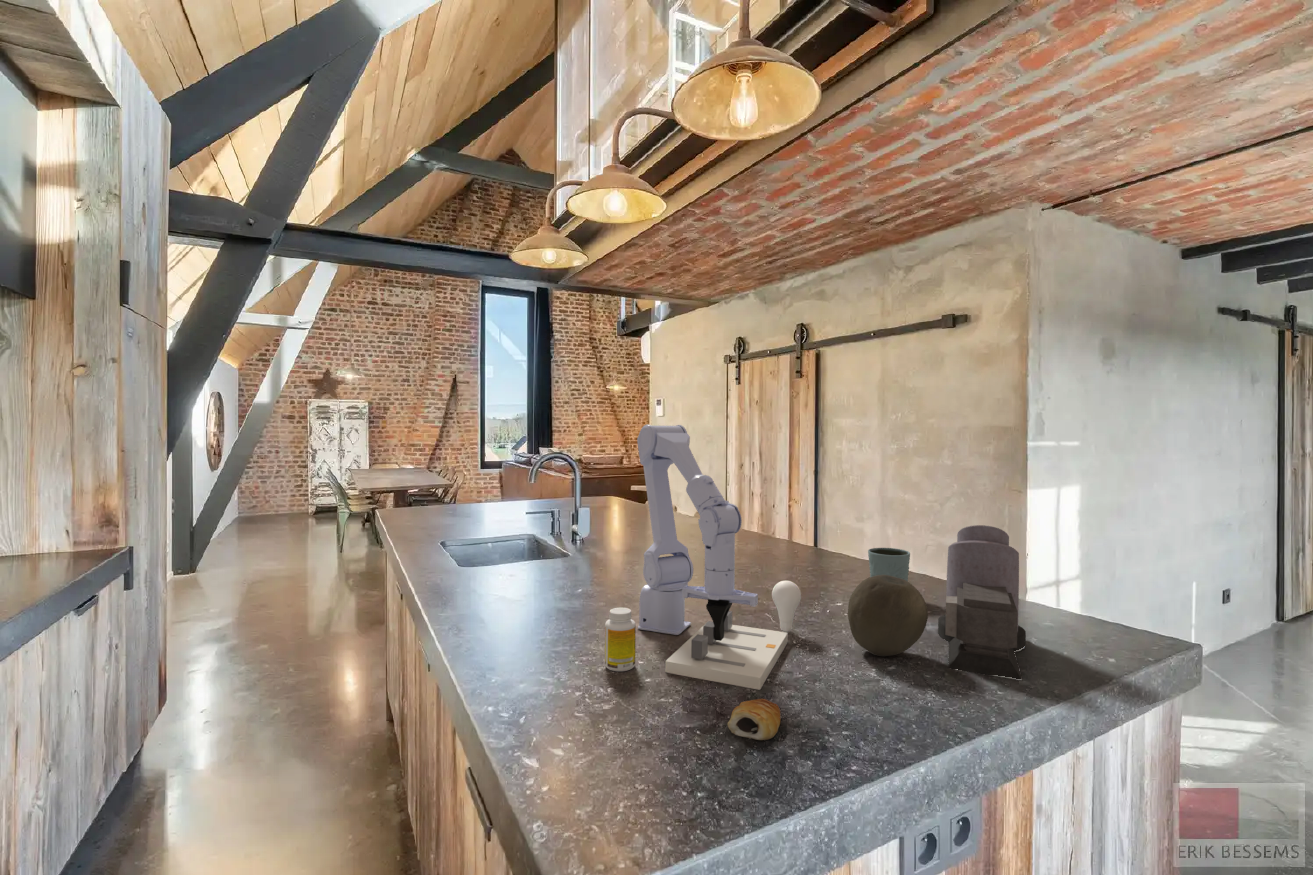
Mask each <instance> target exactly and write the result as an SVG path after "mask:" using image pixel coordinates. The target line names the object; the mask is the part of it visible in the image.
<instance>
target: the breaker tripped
mask: <svg viewBox="0 0 1313 875" xmlns="http://www.w3.org/2000/svg"><path fill="white" fill-rule="evenodd" d="M702 627H703V635H705V636H708V644H714V643H715V642H716V641H717V640H715V638H714V631H715V626H714V623H713V621H712V620H711V621H710V620H707V622H705V624H704V625H702Z"/></svg>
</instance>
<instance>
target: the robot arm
mask: <svg viewBox="0 0 1313 875" xmlns="http://www.w3.org/2000/svg"><path fill="white" fill-rule="evenodd" d="M636 440H637V441H636V442H637V448H638V457H639V462H640V463H639V464H641V465H642V466H643V474H644V480H645V489H646V496H647V503H648V504H647V505H648V509H649V510H648V511H649V519H650V526H651V527H650V528H651V535H652V540H653V542H652V543H651V545H650V546H649V547H648V548H647V549H646V551H644V553H643V569H642V573H643V579H644V581H645V583H646V584H644V585H643V587H641V590H640V595H639V600H638V602H639V607H638V608H639V615H638V616H639V617H638V618H639V620H638V621H639V622H638V624H639V625H637V630H641V631H649V632H655V633H662V634H667V635H675V636H678V635H680V634H681V633H682V632H684V631H685V630H686V629H687V628H688V627H690V626H691V624H692V622H690V621H685V616H686V615H685V608H686V606H685V604H686V603H685V600H686V599H688V598H689V599H690V598H691V599H697V600H699V599H700V600H706V601H707V603H706V604H705V606H706V610H707V612H708V614H709V616H710V618H711V621H712V622H713V623H714V626H715V631H714V638H715V640H719V641H721V640H722V639H723V638H724V622H725V619H726V616H727V614H728V612H729V611H730V609H731V607H732V605H733V604H737V605H738V604H739V605H749V606H750V607H756V606H758V605H759V594H758V593H754V592H753V593H752V592H748V591H743V590H739V589H737V588H736V589H735V579H736V577H735V575H736V573H735V568H736V567H735V566H736V563H735V562H736V560H735V558H736V556H735V555H736V552H735V551H736V534H737V533H738V532H739V531H740V530H741V527H742V520H743V519H742V515H741V512H740V510H739V507H738V506H737V504H734V503H730V502H729V500H725V498H724V496H723V495H722V493H721V492H720V489H719V488H718V486H717V485H716V483H715V481H714V480H713V478H712V477H711V476H710V475H706V474H703V473H702V471H701V468H700V466H699V464H698V462H697V460H696V459H695V457H694V454H693V453H692V450H691V448H690V443H691V441H690V440H691V436H690V434H689V433H688V431H687V429H686V428H685V427H684V426H683V425H682V424H677V425H659V424H658V425H655V424H654V425H652V424H645V425H644V424H643V426H642V427H641V429H640V430H639V434H638V435H637V439H636ZM673 464H674V465H675V466H676V469H678V471H679V473H680V474H681V475H682V477H683V478H684V480H685V481H686V483H687V485H686V487H685V488H686V489H685V492H686V494H687V496H688V497H689V500H690V501H691V502H692V504H693V506H694V507H695V509H696V511H697V513H698V515H699V519H698V520H697V521H698V522H697V523H698V526H699V527H698V528H699V531H700V533H701V541H702V544H703V545H704V586H699V585H698V586H693V585H689V582H691V580H692V579H693V576H694V564H693V561H692V560H691V557H690V554H689V548H688V547H687V546H686V545H685V544H683V543H682V542H680V540H678V537H677V528H676V521H675V515H674V508H673V501H672V493H671V487H670V481H669V480H670V479H669V473H668V470H669V468H670V466H671V465H673ZM661 555H663V556H661ZM664 555H668V556H664Z"/></svg>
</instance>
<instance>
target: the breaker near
mask: <svg viewBox="0 0 1313 875" xmlns="http://www.w3.org/2000/svg"><path fill="white" fill-rule="evenodd" d="M707 654H708V636H705V635H699V634H697V635H696V636H695V637H694V638H693V639H692V646H691V658H695V659H701V660H702V659H703V658H704V657H705V656H706V655H707Z"/></svg>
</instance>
